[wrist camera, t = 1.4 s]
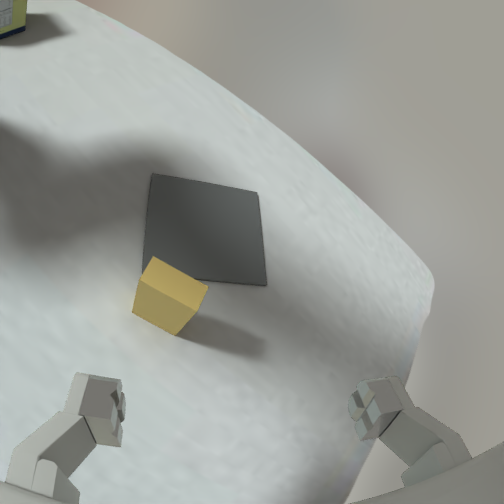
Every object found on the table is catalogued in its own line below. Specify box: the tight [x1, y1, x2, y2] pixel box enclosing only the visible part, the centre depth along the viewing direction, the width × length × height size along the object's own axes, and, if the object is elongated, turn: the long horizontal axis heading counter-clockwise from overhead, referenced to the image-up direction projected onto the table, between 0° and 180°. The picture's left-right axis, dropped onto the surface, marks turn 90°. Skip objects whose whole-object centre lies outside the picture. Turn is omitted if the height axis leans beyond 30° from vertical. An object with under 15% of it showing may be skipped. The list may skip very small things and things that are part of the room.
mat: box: [142, 174, 267, 286], centre depth 40 cm, size 15×14×1 cm
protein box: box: [0, 0, 27, 39], centre depth 35 cm, size 10×16×16 cm
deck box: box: [132, 256, 208, 336], centre depth 29 cm, size 2×5×10 cm, turn 70°
